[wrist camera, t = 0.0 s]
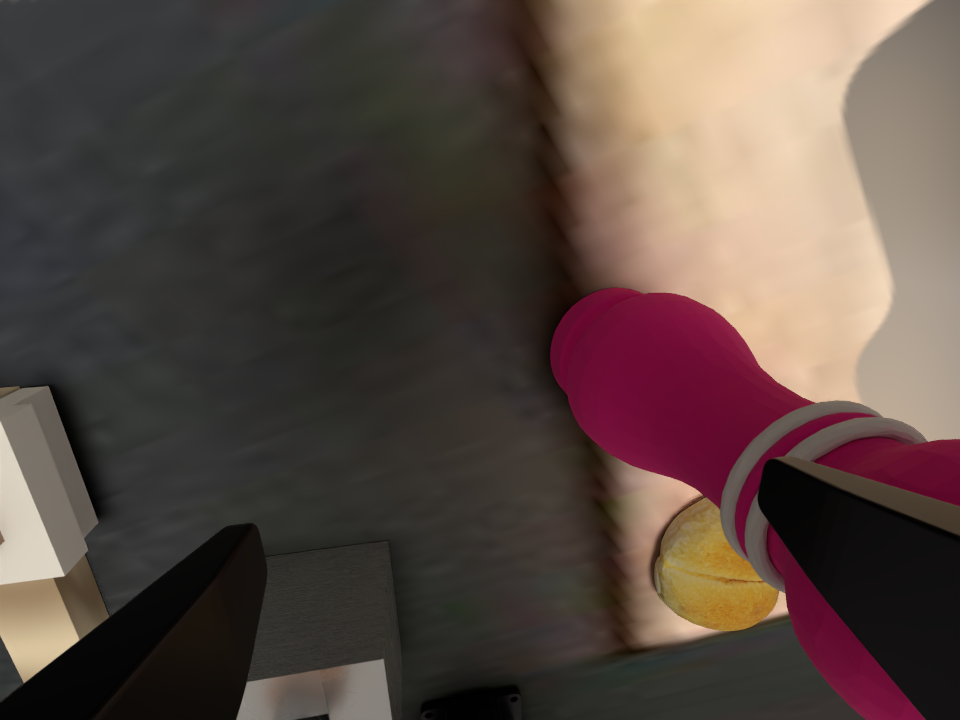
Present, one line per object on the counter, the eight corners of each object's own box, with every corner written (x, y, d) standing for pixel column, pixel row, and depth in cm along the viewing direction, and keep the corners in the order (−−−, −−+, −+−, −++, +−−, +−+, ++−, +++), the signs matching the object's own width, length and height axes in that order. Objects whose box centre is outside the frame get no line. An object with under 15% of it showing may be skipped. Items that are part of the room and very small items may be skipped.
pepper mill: (580, 437, 25) (1115, 1125, 6) (512, 332, 22) (1081, 978, 4) (694, 362, 25) (1600, 858, 6) (638, 247, 22) (1926, 499, 4)
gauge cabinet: (401, 648, 28) (401, 786, 21) (254, 673, 27) (206, 826, 20) (388, 540, 25) (383, 658, 19) (224, 562, 24) (158, 697, 18)
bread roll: (791, 487, 29) (849, 529, 25) (740, 600, 32) (785, 653, 28) (676, 475, 27) (720, 519, 24) (631, 596, 30) (664, 652, 26)
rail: (141, 699, 26) (121, 737, 24) (82, 709, 26) (57, 749, 24) (19, 386, 20) (-21, 405, 18) (-62, 392, 19) (-111, 413, 17)
